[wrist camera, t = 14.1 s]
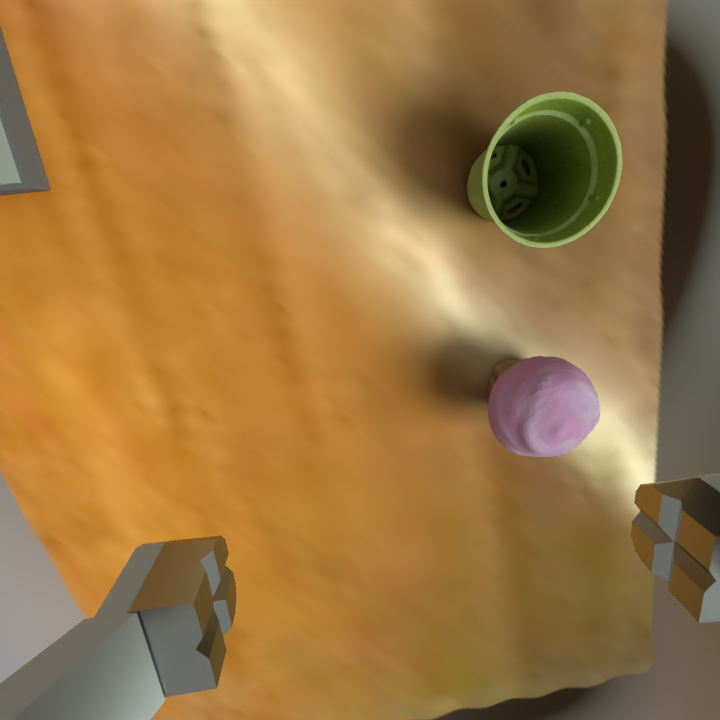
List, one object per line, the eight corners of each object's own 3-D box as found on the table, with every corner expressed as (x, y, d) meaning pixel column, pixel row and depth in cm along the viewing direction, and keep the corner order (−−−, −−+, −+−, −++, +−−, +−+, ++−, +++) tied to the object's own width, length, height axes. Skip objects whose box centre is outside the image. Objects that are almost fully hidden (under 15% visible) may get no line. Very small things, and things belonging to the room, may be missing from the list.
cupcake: (463, 421, 43) (501, 479, 34) (469, 338, 40) (513, 375, 31) (549, 418, 44) (610, 473, 34) (561, 336, 41) (631, 371, 32)
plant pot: (523, 95, 34) (584, 56, 26) (574, 197, 37) (645, 191, 29) (426, 169, 36) (455, 154, 27) (483, 262, 38) (525, 275, 30)
